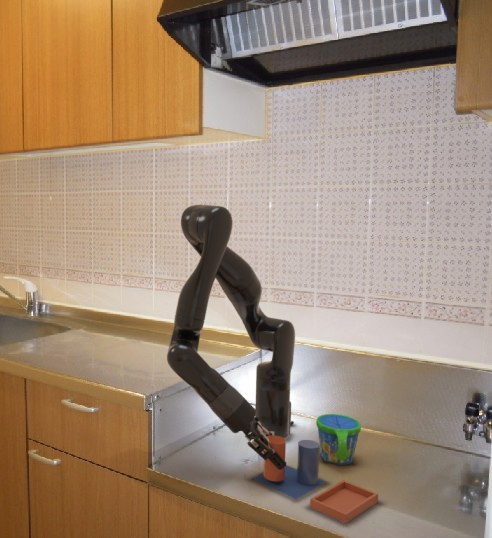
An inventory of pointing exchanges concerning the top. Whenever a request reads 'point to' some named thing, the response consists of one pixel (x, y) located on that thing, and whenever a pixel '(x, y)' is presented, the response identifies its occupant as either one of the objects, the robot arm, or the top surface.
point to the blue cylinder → (308, 462)
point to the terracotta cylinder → (269, 468)
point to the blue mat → (288, 484)
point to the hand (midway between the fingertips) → (282, 461)
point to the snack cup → (337, 438)
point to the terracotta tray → (344, 501)
